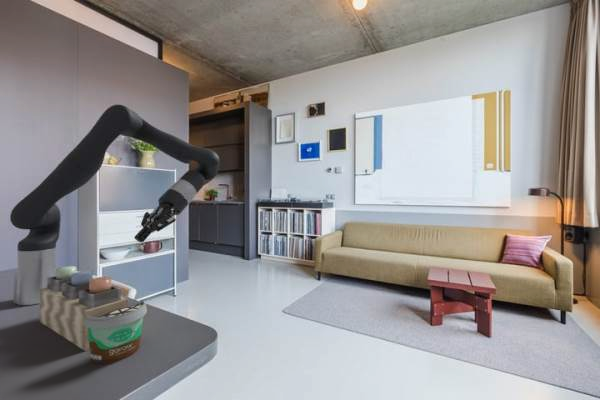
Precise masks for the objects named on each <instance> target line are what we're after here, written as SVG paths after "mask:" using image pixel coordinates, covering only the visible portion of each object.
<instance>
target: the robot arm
mask: <svg viewBox="0 0 600 400" xmlns="http://www.w3.org/2000/svg"><path fill="white" fill-rule="evenodd" d="M120 136H123V137H128V138H132V139H135V140H137V141H141V142H143V143H146V144H148V145H151V146H152V147H153V148H155V149H157V150H159V151H161V152H162V153H164V154H165V155H167V156H169V157H170V158H173V159H175V160H176V161H178V162H180V163H183V164H184V165H185V164H186V165H188V164H191V163H192V162H196V163H197V167H196V168H195V169H189V170H188V171H186V172H185V173H184V174H183V175H181V177H180V178H179V179H178V180H177V181H175V182H174V183H173V184H172V185H171V186H170V187H169V188H168V189H167V190H166V191H165V192H164V193H163V194H162V195H160V197H159V198H158V200H157V201H158V206H157V207H156V208H154V209H153V211H151V212H148V211H146V212H145V213H144V214H143V217H142V220H141V223H140V225H141V226H142V227H141V229H140V230H139V231H138V232H137V233H136V235H134V237H133V238H134V240H136V241H137V242H139V243H143V242H145V241H146V239H148V237H149V236H151V234H153V233H155V232H160V231H162V230H164V229H165V228H167V227H168V226H170V225H171V224H173V223H174V222H176V221H177V220H176V218H175V216H179V215H181V214H182V212H183V211H184V210H185V209H186V208H187V207H188V205H190V203H191V202H192V201H193V199H194V198H195V196H196V195H197V194H198V193H199V192H200V191H201V190H202V188H203V187H204V186H206V185H207V184H208V183H209V182H211V181H212V180H213V179H215V178H216V176H217V174H218V172H219V168H220V161H221V160H220V156H219V155H218V154H217V153H216V152H215V151H214V150H212V149H209V148H205V147H202V146H199V145H198V146H197V145H193V144H191V143H189V142H187V141H185V140H183V139H182V138H179V137H177V136H175V135H173V134H171V133H168V132H165V131H164V130H161V129H158V128H157V127H155V126H154V125H151V123H149V122H148V121H146V120H145V119H143V118H142V117H141V116H140V115H139V114H138V113H136V112H135V111H133V110H132V109H130V108H129V107H127V106H125V105H123V104H113V105H111V106H108V107H107V108H106V109H105V110H104V112H103V113H102V114H101V115H100V117H99V118H98V120H97V121H96V122H95V124H94V125H93V126H92V128H91V129H90V130H89V132H88V133H87V134H86V135H85V136H84V137H83V138H82V140H81V141H79V143H78V144H77V145H76V146H75V147H74V148H72V150H71V151H70V152H68V154H67V155H66V156H65V157H64V158H63V160H62V161H60V163H58V165H57V166H56V167H55V168H54V170H52V171H51V172H50V173H49V175H47V177H45V179H44V180H43V181H42V182H41V183H40V184H39V185H38V186H37V187H35V188H34V189H33V190H32V191H30V193H28V194H27V195H26V196H24V198H23V199H22V200H20V201H19V202H17V203H16V205H15V206H14V207H13V208H12V209H11V211H10V212H11V213H10V215H9V216H10V217H9V220H10V222H11V224H12V226H14V227H15V228H16V229H19V230H29V232H28V233H27V235H26V236H25V237H24V238H22V239H21V240H19V242H17V257H16V258H17V263H16V264H17V270H16V273H14V275H13V304H16V305H18V306H32V305H38V304H40V289H43V288H47V278H48V277H54V276H56V269H57V266H56V265H57V262H56V259H57V254H56V253H57V242H58V240H59V238H60V231H61V219H62V218H61V215H62V214H61V210H60V208H59V206H58V205H57V202H58V201H60V200H61V199H63V198H64V197H66V196H67V195H70V194H71V193H73V192H75V191H76V190H78V189H80V188H82V187H83V186H84V185H86V184H87V183H88V182H90V180H91V179H92V178H93V177H94V176H95V175H96V174H97V173H98V172H99V170H100V169H101V167H102V165H103V163H104V160H105V156H106V154H107V153H106V152H107V150H108V149H109V147H110V146H111V144H112V143H114V141H115V140H117V138H118V137H120Z"/></svg>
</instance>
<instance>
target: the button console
mask: <svg viewBox="0 0 600 400" xmlns="http://www.w3.org/2000/svg"><path fill="white" fill-rule="evenodd" d="M71 283H72V278H69V279H64V280H59V281H58V280H56V275H55V276H54V277H48V278H47V288H43V289H40V303H39V323H41V324H42V325H44V326H45V327H48V328H49V329H51V330H52V331H53V332H55V333H57V334H58V335H60V336H61V337H63V338H64V339H66V340H68V341H69V342H70V343H72V344H74V345H75V346H76V347H78V348H80V349H81V350H83V351H85V352H86V351H90V345H89V336H88V328H87V327H84V322H85V319H86V318H87V316H90V317H98V316H101V315H104V314H107V313H109V312H111V311H113V310H116V309H120V308H126V307H129V299H128V298H126V297H123V296H122V288H121V287H118V286H116V285H113V284H111V290H109V291H105V292H101V293H97V294H91V293H89V284H86V285H82V286H77V287H73V286H71Z"/></svg>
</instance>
